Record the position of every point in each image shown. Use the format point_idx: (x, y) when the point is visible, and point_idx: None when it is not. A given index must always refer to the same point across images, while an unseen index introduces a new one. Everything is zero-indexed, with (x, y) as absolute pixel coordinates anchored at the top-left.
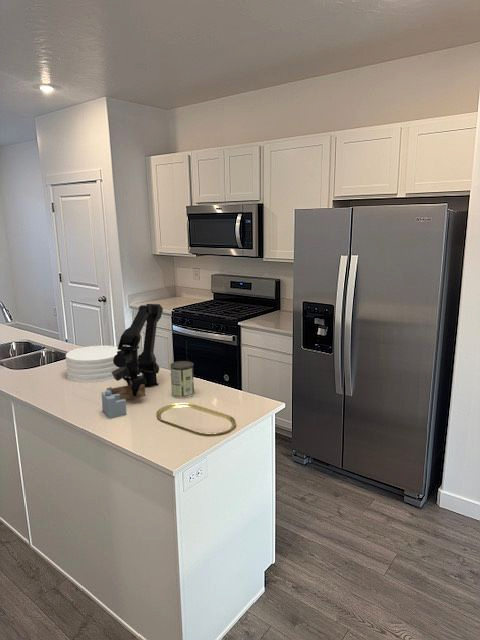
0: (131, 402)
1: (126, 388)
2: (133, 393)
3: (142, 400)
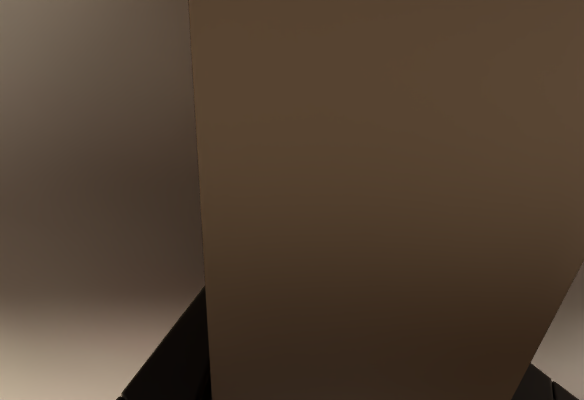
0: (8, 139)
1: (222, 306)
2: (185, 315)
3: (46, 317)
